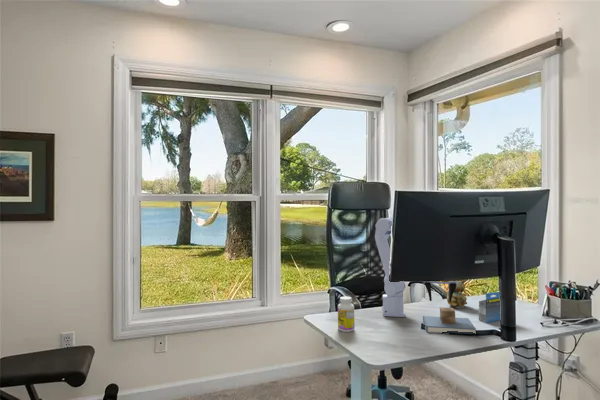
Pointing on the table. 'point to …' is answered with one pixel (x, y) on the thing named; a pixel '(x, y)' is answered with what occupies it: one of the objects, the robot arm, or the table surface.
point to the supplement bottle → (346, 314)
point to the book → (447, 325)
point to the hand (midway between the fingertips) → (440, 300)
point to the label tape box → (489, 308)
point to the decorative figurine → (458, 296)
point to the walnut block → (447, 315)
